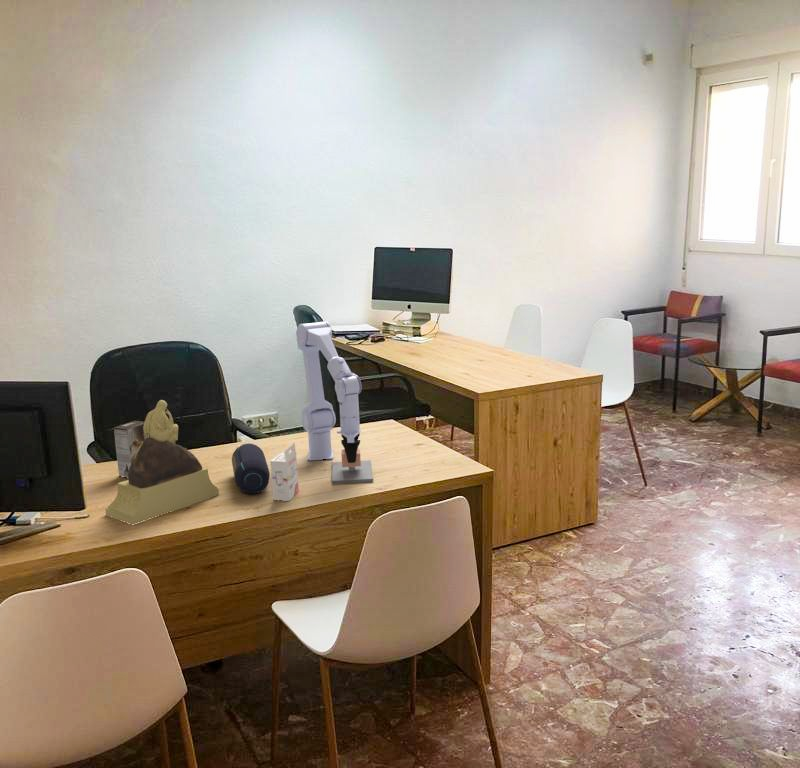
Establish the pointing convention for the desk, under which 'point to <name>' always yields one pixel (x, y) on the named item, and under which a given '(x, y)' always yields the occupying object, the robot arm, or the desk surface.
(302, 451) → the desk surface
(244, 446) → the portable speaker
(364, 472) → the post base
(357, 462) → the collar
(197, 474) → the seated figure statue
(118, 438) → the coffee box
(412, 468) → the desk surface
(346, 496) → the desk surface
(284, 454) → the ink cartridge box
